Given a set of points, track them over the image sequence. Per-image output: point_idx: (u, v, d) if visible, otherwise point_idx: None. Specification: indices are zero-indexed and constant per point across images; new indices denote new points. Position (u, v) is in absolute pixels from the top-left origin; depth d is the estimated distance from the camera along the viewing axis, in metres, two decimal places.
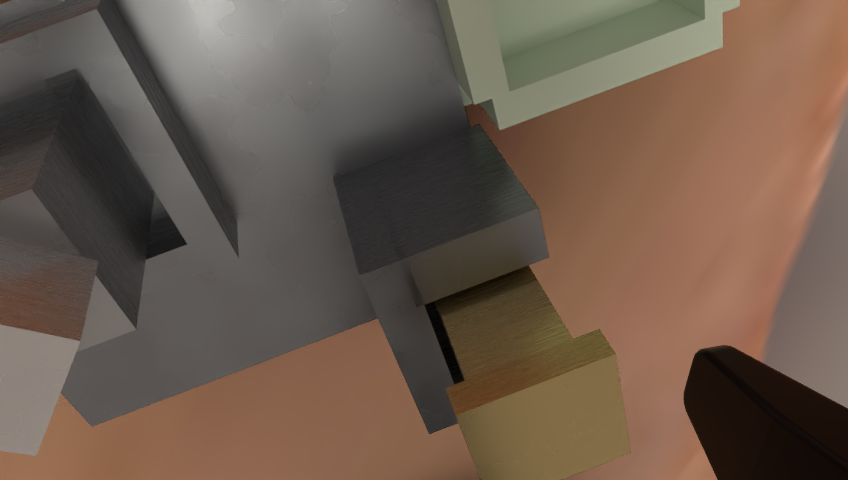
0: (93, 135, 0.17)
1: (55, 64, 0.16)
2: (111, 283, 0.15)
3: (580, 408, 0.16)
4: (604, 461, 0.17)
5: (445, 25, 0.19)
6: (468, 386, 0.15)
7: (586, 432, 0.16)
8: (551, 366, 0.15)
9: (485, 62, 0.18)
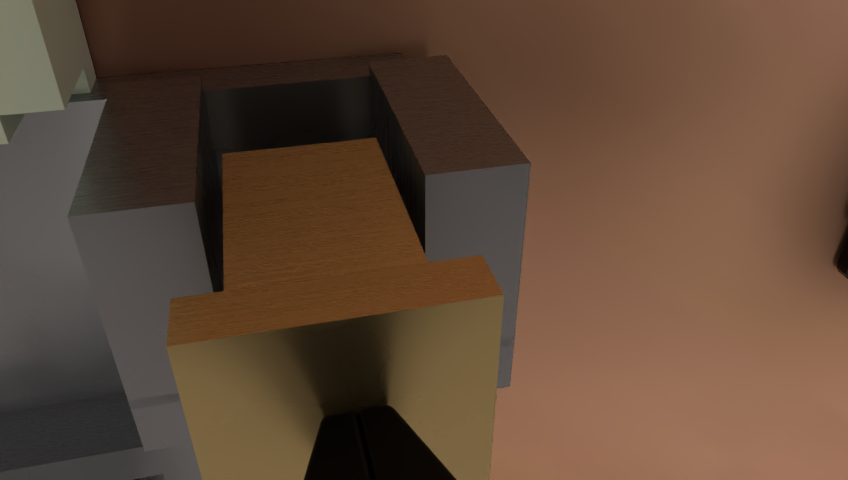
0: None
1: None
2: None
3: (303, 393, 0.08)
4: (495, 341, 0.08)
5: None
6: None
7: (384, 378, 0.08)
8: None
9: None
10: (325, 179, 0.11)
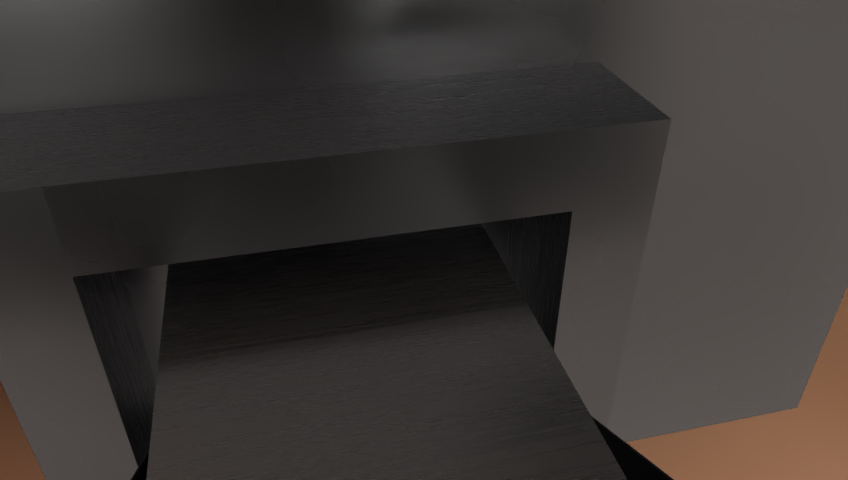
0: (260, 281, 0.08)
1: (59, 311, 0.07)
2: None
3: None
4: None
5: None
6: None
7: None
8: None
9: None
10: None
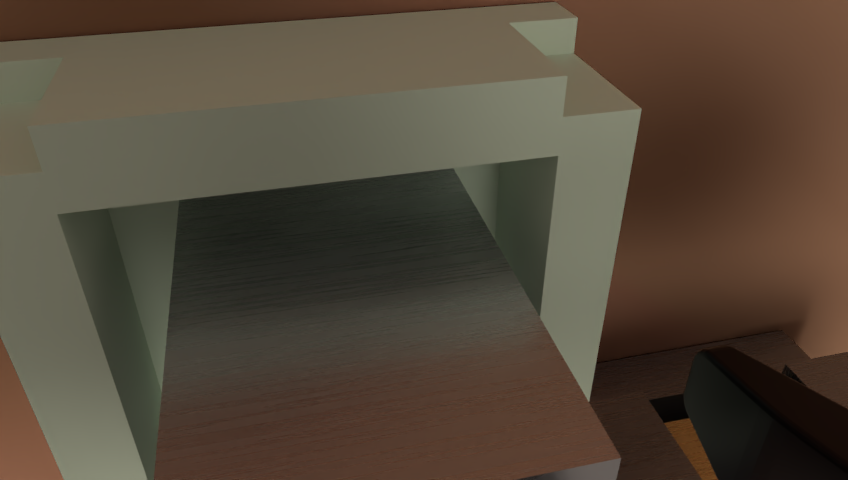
0: (261, 230, 0.09)
1: None
2: (485, 447, 0.06)
3: None
4: None
5: None
6: None
7: None
8: None
9: None
10: None
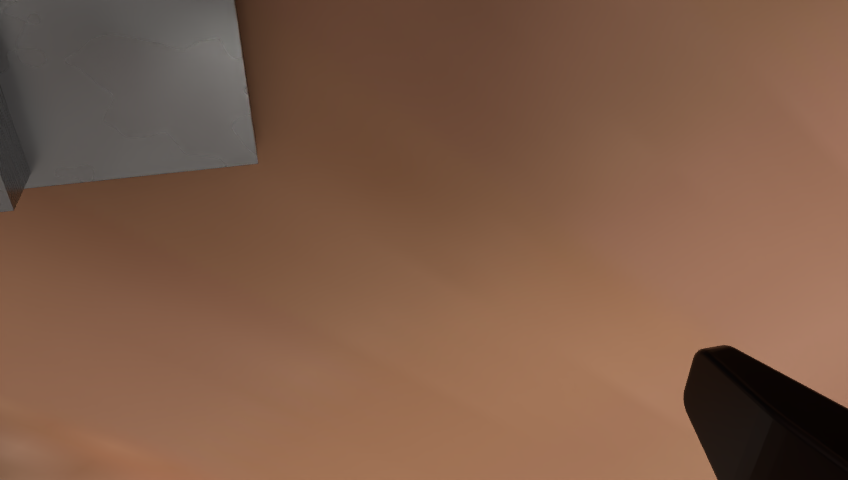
0: None
1: None
2: None
3: None
4: None
5: None
6: None
7: None
8: None
9: None
10: None
